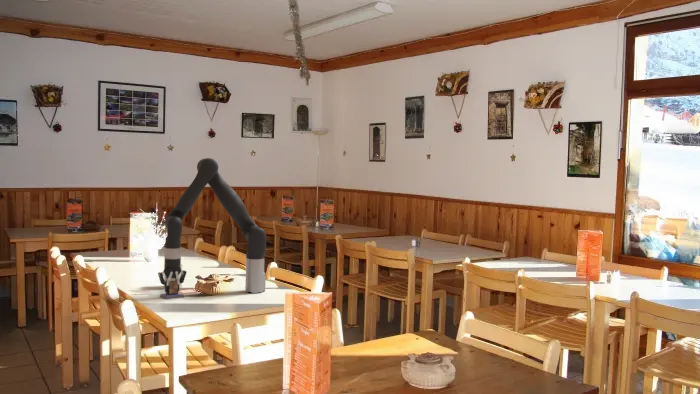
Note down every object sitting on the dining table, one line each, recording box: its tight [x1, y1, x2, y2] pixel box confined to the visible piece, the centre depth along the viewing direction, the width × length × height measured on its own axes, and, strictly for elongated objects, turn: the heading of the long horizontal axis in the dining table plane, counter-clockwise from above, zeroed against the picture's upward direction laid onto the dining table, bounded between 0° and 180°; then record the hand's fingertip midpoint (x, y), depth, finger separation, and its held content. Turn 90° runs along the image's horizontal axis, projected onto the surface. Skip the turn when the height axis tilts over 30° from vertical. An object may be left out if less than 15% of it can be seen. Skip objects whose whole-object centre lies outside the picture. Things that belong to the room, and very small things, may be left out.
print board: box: [178, 288, 202, 296], centre depth 306 cm, size 11×10×1 cm
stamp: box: [165, 281, 178, 295], centre depth 295 cm, size 4×4×6 cm
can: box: [163, 263, 183, 289], centre depth 317 cm, size 9×9×12 cm
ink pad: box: [159, 292, 185, 300], centre depth 295 cm, size 9×7×1 cm
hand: (172, 292), depth 295 cm, fingers closed on stamp, 4 cm apart
